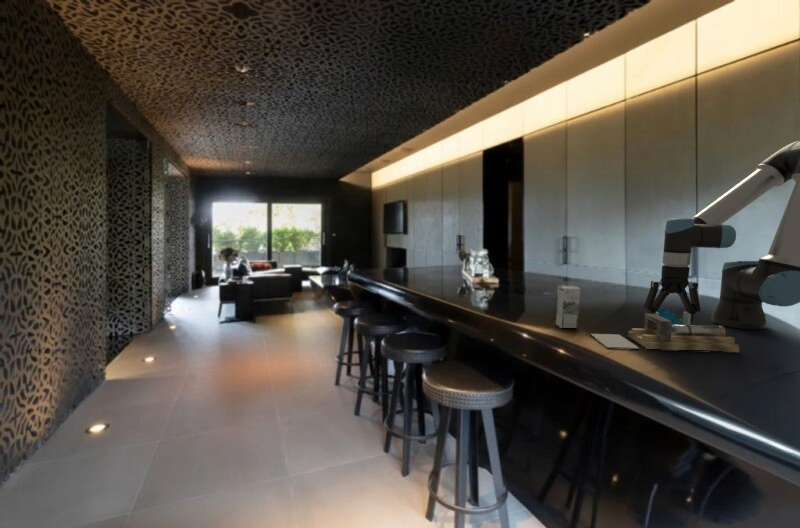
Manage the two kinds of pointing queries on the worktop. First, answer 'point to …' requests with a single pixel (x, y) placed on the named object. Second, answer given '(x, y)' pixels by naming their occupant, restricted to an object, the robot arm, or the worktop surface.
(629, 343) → the pad
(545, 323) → the worktop surface
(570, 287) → the syrup box
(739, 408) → the worktop surface
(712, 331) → the shaft
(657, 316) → the stepped wooden platform
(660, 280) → the robot arm
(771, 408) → the worktop surface
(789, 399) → the worktop surface
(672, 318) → the blue knobby toy
